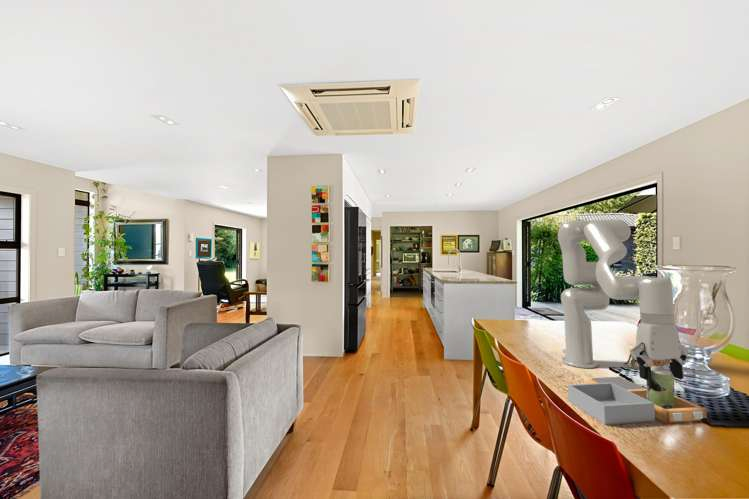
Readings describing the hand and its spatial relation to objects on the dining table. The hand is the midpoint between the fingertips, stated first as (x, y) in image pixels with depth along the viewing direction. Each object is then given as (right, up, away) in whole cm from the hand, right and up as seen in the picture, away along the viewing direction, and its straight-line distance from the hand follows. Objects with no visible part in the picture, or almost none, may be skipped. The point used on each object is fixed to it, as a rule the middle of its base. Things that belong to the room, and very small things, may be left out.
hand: (661, 378), depth 92 cm
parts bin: (-15, -10, 0) cm, 18 cm away
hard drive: (+14, -10, +17) cm, 25 cm away
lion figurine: (+23, -10, +31) cm, 39 cm away
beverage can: (0, -9, 0) cm, 9 cm away
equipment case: (0, -9, +7) cm, 12 cm away
